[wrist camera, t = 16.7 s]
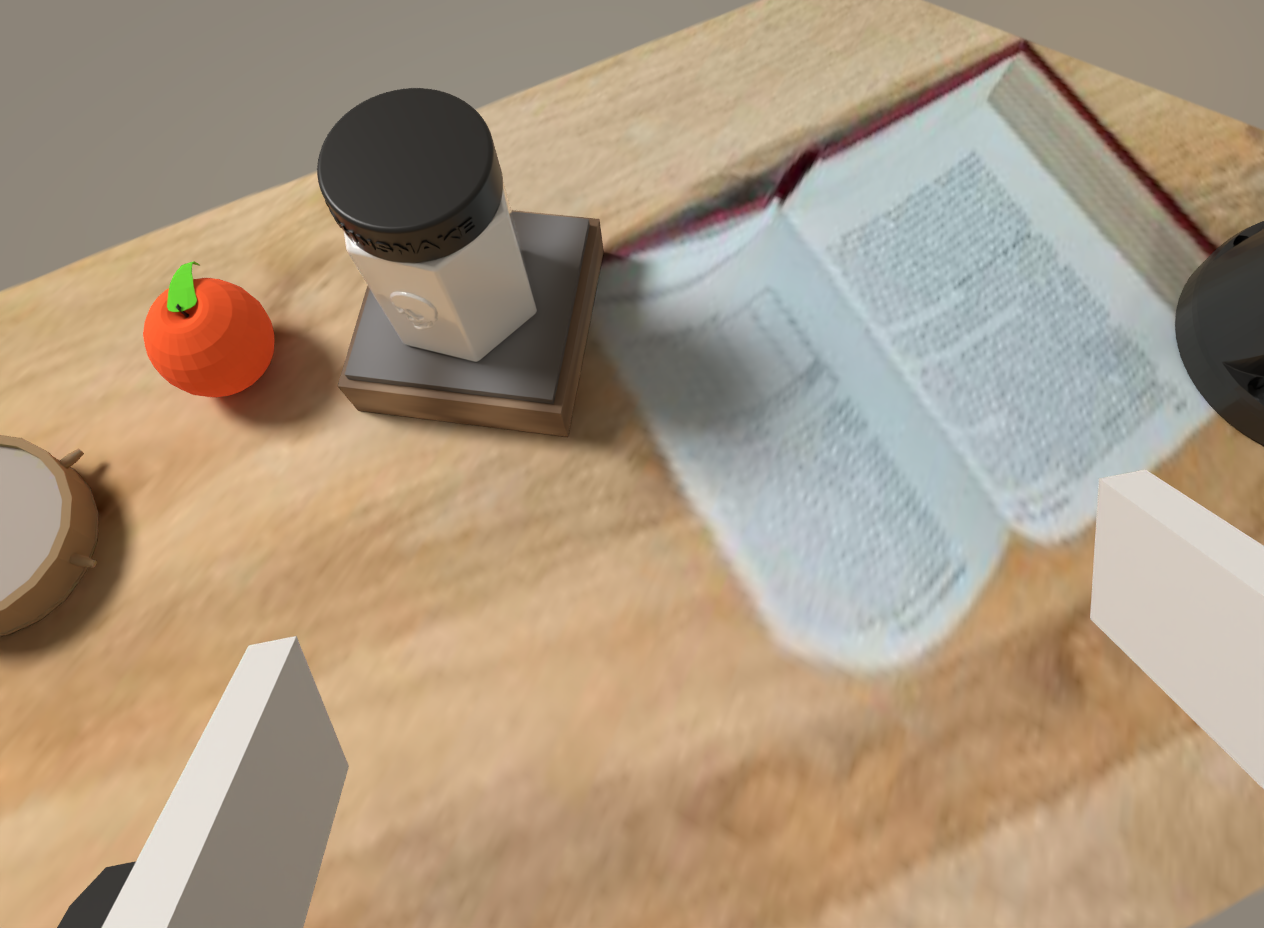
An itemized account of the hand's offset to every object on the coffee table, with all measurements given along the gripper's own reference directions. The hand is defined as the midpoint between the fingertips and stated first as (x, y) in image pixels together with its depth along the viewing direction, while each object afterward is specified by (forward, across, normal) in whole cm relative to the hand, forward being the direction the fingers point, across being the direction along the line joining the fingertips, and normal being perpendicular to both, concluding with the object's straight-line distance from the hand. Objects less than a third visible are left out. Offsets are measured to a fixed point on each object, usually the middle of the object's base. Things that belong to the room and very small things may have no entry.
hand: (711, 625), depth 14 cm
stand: (+42, -8, -5) cm, 43 cm away
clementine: (+43, -23, -4) cm, 49 cm away
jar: (+39, -8, -2) cm, 40 cm away
